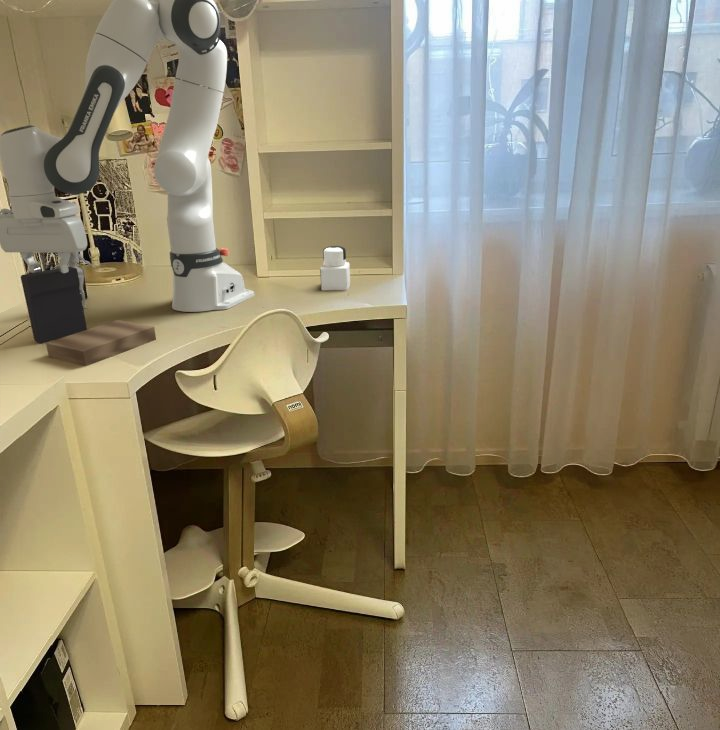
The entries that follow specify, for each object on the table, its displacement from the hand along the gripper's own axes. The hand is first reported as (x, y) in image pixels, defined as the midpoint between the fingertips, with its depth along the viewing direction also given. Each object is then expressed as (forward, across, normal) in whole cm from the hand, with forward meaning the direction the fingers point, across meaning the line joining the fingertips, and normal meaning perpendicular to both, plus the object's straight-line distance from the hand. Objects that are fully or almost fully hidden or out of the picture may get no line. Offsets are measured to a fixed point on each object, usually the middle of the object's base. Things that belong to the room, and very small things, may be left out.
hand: (49, 272), depth 144 cm
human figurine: (+15, -10, +20) cm, 27 cm away
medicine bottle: (+16, +48, +49) cm, 71 cm away
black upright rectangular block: (+15, 0, 0) cm, 15 cm away
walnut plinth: (+15, +15, -6) cm, 22 cm away
